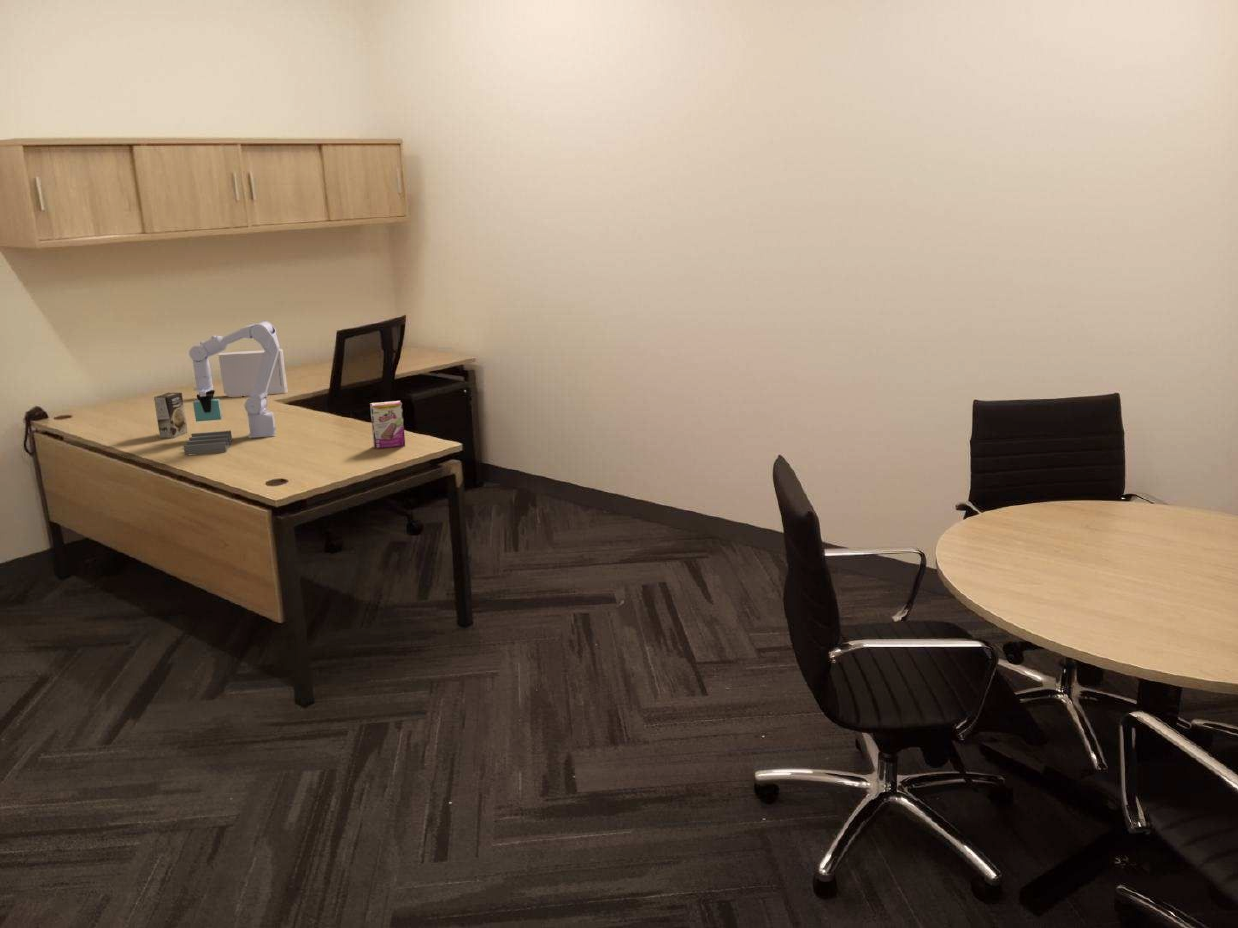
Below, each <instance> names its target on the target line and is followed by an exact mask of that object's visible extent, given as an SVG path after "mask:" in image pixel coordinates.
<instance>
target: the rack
mask: <svg viewBox="0 0 1238 928" xmlns="http://www.w3.org/2000/svg"><path fill="white" fill-rule="evenodd" d="M232 441H233V435H232V430H219V431H206V432H196V433H191V437H190V436H189V437H188V441H186V442H185V443H186V444H185V445H183V449H184V456H185V455H186V456H190V455H189V454H198V455H206V454H207V455H208V454H209V455H210V454H219V453H220V454H221V453H227V451H228V449H229V448H230V445H231V442H232Z"/></svg>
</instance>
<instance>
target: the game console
mask: <svg viewBox="0 0 1238 928" xmlns="http://www.w3.org/2000/svg"><path fill="white" fill-rule="evenodd" d="M264 351H265V350H264V349H263V350H250V351H249V350H248V351H247V350H245V351H233V352H232V351H231V352H219V354H218V361H219V368H220V374H221V375H220V376H221V382H222V389H223V393H224V394H225V395H226V396H227V397H228V398H231V397H232V398H243V397H242V396H244V397H250V394H251V392H252V390H253V388H254V385H255V381H256V378H257V375H258V371H259V368H260V365H261V361H262V358H263V354H264ZM288 391H289V390H288V383H287V374H286V367H285V357H284V351H283V348H280V349H279V352H278V356H277V359H276V362H275V366H274V369H273V372H272V376H271V379H270V382H269V386H268V389H267V392H268V394H267V396H268V395H278V394H279V395H280V394H287V393H288Z"/></svg>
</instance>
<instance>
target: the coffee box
mask: <svg viewBox="0 0 1238 928" xmlns="http://www.w3.org/2000/svg"><path fill="white" fill-rule="evenodd" d="M153 401H154V407H155V414H156V420H157V421H156V422H157V426H158V434H159V438H164V437H165V439H166V437H167V439H174V438H173V437H175V438H177V437H179V435H180V436H182V435H184V433H185V434H186V432H187V433H188V432H189V430H188V424H187V419H186V411H185V405H184V399H183V393H182V392H167V393H164V394H163V393H162V394H160V395H157V396H156V395H155V396H154V397H153Z"/></svg>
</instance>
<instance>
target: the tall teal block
mask: <svg viewBox="0 0 1238 928" xmlns="http://www.w3.org/2000/svg"><path fill="white" fill-rule="evenodd" d="M220 401H221V400H220V398H213V399H211V412H206V413H205V412H204V410H203V407H202V405H201V403H200V401H199V400H198V399H196V400H193V402H192V404H193V413H194V416H195V417H194V418H195V422H197V423H198V422H205V421H208V422H209V421H210V422H211V421H221V420H222V419H223V413H222V406H221V402H220Z"/></svg>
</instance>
